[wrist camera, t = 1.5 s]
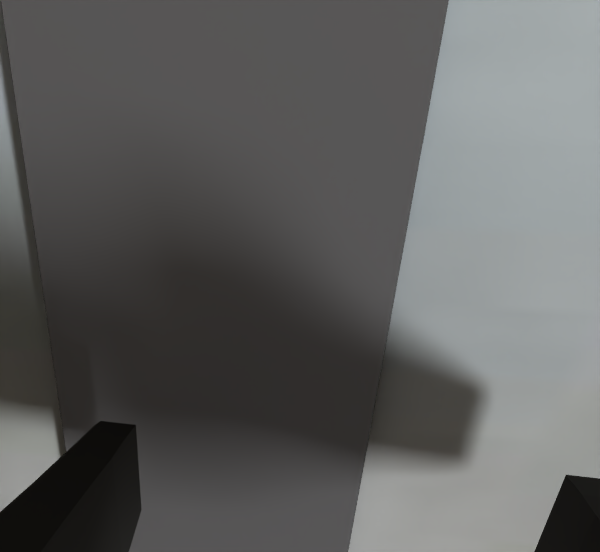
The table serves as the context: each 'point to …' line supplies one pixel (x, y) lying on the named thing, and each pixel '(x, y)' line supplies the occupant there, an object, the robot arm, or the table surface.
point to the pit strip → (224, 242)
